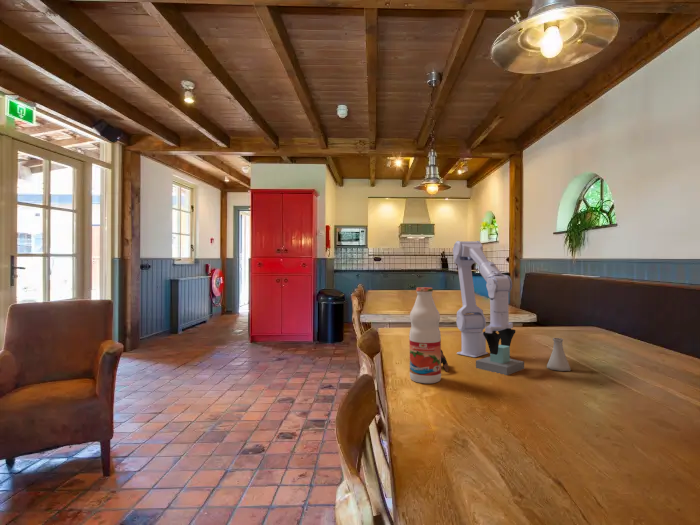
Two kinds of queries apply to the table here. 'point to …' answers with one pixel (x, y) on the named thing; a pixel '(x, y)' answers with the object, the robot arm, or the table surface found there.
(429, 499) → the table surface
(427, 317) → the fruit juice
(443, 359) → the brown broken pot
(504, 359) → the teal block
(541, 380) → the table surface
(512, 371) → the gray base
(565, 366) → the flask
